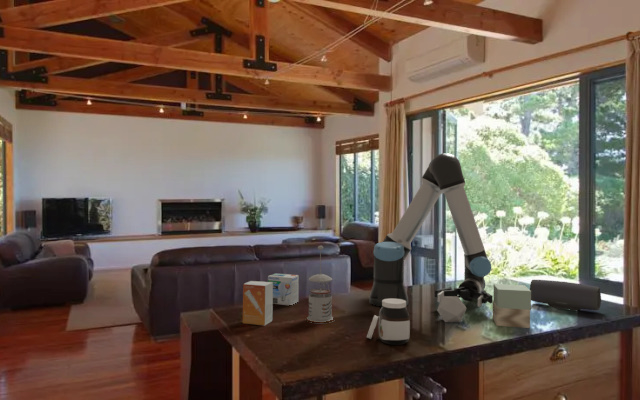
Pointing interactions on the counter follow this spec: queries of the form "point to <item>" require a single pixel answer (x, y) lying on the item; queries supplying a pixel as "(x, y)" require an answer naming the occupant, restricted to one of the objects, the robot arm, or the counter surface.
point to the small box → (257, 302)
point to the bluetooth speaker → (565, 295)
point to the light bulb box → (284, 288)
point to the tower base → (511, 317)
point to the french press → (320, 298)
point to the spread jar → (392, 322)
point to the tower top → (512, 296)
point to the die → (451, 309)
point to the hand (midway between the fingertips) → (458, 300)
